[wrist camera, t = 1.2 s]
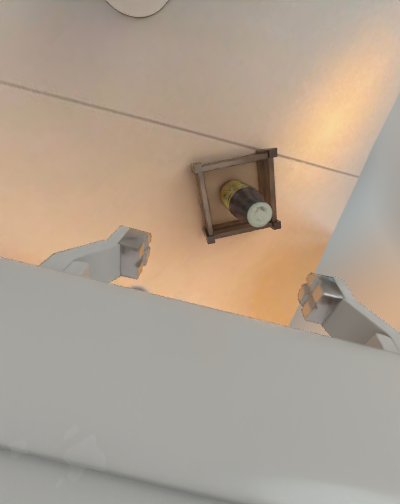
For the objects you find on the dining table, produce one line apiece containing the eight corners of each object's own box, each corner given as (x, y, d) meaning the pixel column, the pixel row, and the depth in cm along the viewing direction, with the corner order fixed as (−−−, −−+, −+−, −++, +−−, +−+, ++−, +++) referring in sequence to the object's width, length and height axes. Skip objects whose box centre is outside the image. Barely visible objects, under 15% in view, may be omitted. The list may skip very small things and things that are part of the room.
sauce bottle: (236, 173, 51) (272, 182, 33) (250, 196, 53) (290, 216, 35) (212, 190, 52) (234, 208, 34) (226, 212, 54) (254, 240, 36)
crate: (190, 164, 49) (193, 165, 43) (262, 149, 50) (277, 147, 43) (203, 233, 56) (208, 244, 49) (268, 219, 56) (281, 228, 49)
